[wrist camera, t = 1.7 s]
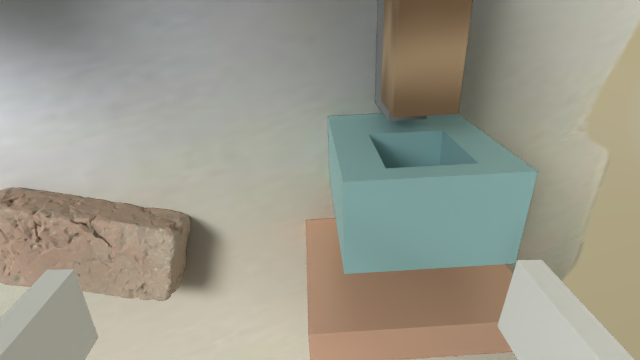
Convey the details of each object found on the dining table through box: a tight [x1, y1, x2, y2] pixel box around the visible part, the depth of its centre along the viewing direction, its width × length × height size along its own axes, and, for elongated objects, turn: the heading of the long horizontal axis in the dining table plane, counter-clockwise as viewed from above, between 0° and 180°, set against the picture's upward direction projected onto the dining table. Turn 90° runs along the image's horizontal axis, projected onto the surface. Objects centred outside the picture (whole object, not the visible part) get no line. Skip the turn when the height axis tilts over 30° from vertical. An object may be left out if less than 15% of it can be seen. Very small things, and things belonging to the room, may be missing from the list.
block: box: [328, 113, 538, 274], centre depth 28 cm, size 6×11×13 cm, turn 92°
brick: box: [0, 188, 191, 301], centre depth 35 cm, size 17×8×5 cm, turn 78°
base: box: [306, 218, 513, 360], centre depth 31 cm, size 3×16×14 cm, turn 92°
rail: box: [375, 0, 427, 121], centre depth 26 cm, size 16×3×6 cm, turn 2°
